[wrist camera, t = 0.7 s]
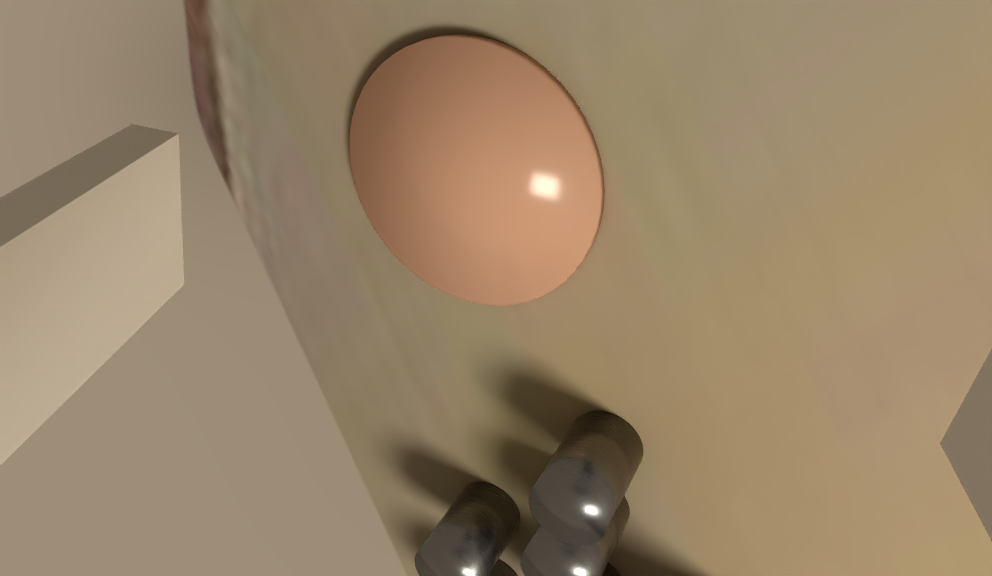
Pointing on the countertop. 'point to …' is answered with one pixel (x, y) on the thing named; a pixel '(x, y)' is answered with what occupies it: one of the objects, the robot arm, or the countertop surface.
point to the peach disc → (477, 169)
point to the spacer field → (546, 511)
